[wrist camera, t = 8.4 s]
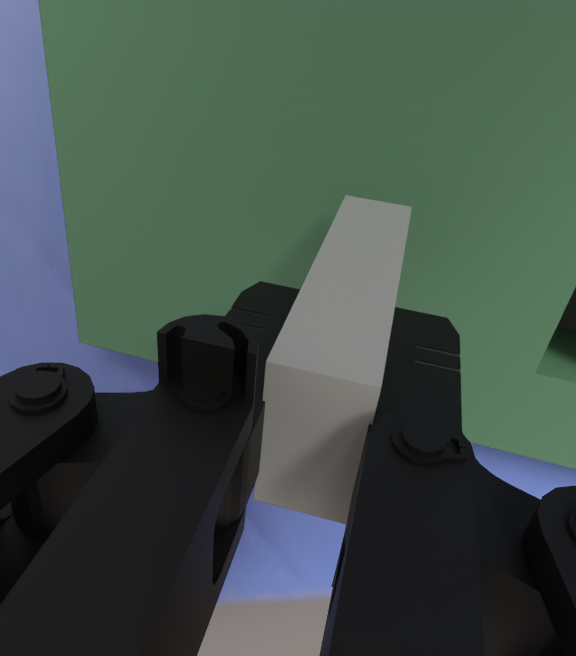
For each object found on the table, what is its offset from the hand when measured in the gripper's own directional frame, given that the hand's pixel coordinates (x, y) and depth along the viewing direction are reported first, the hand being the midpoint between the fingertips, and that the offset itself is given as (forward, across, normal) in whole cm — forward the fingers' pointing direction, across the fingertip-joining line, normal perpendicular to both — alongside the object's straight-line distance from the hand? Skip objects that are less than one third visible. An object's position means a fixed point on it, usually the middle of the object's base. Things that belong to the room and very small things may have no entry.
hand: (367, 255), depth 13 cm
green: (+4, +2, 0) cm, 5 cm away
